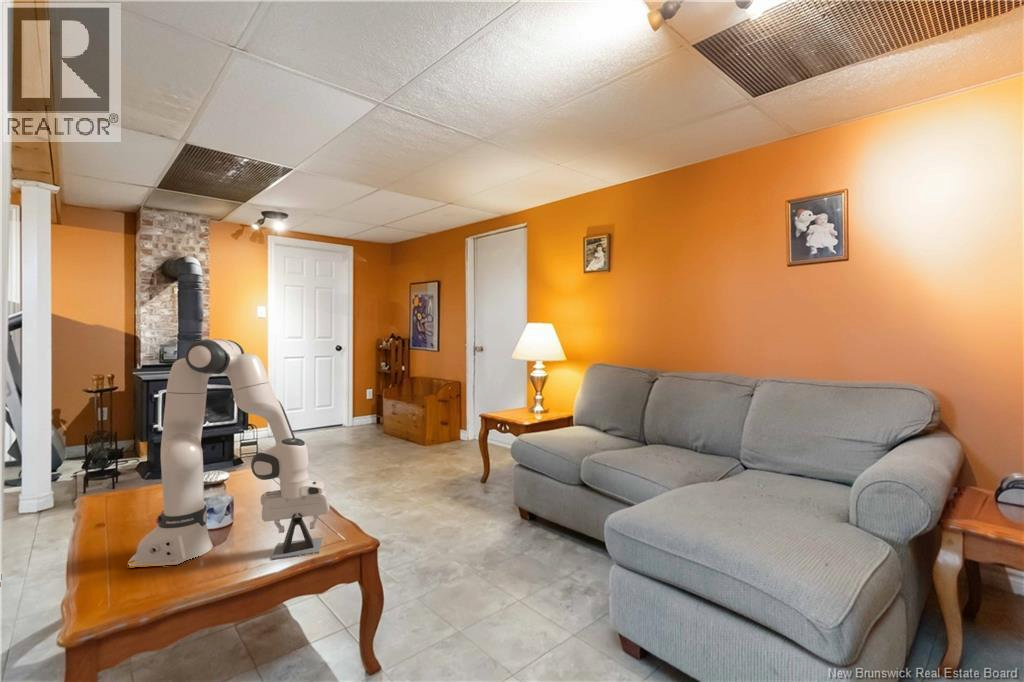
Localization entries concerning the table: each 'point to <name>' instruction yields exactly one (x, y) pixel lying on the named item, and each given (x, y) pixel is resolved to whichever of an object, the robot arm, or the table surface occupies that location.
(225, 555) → the table surface
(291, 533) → the black triangular stand
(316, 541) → the mat
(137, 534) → the table surface
